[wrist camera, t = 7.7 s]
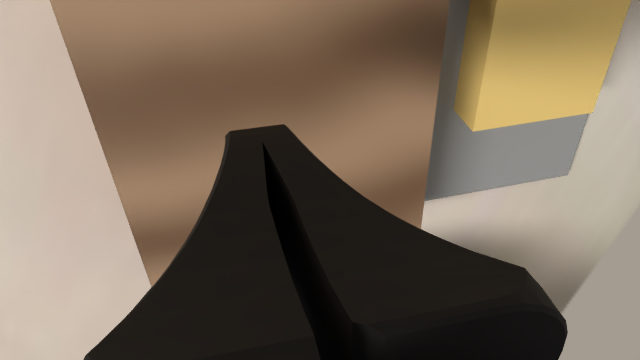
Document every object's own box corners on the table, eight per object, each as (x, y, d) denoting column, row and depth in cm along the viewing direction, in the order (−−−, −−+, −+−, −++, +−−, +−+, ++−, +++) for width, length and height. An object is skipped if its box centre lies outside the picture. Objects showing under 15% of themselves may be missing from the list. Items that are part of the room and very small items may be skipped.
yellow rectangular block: (472, 131, 23) (453, 109, 24) (592, 112, 23) (566, 92, 25) (514, -96, 17) (486, -106, 19) (668, -109, 18) (629, -117, 20)
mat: (564, 172, 29) (567, 175, 29) (398, 201, 27) (399, 205, 27) (726, -315, 17) (734, -317, 16) (441, -313, 15) (446, -316, 15)
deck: (389, 203, 27) (417, 256, 24) (160, 244, 25) (158, 307, 22) (425, -313, 15) (492, -341, 12) (-14, -311, 13) (-73, -343, 10)
